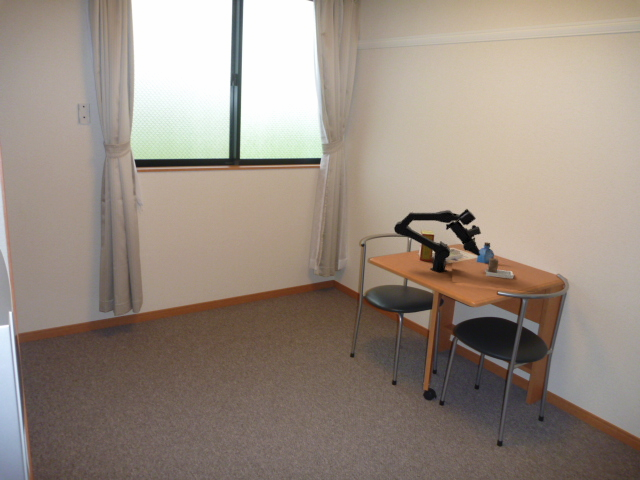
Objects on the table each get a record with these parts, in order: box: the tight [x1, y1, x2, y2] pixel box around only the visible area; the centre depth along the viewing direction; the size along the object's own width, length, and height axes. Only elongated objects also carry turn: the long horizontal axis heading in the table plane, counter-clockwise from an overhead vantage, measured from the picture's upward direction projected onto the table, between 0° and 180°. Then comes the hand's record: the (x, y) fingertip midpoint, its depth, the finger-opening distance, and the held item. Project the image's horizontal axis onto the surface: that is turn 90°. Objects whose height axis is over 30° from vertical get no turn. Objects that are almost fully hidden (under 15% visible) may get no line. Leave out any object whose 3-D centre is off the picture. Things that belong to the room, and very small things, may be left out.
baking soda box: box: [418, 229, 435, 262], centre depth 275 cm, size 10×6×16 cm
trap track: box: [485, 268, 514, 280], centre depth 249 cm, size 13×7×3 cm, turn 75°
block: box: [487, 257, 499, 273], centre depth 249 cm, size 4×4×8 cm
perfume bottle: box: [476, 242, 495, 264], centre depth 271 cm, size 6×6×12 cm
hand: (479, 253), depth 249 cm, fingers open, 7 cm apart
